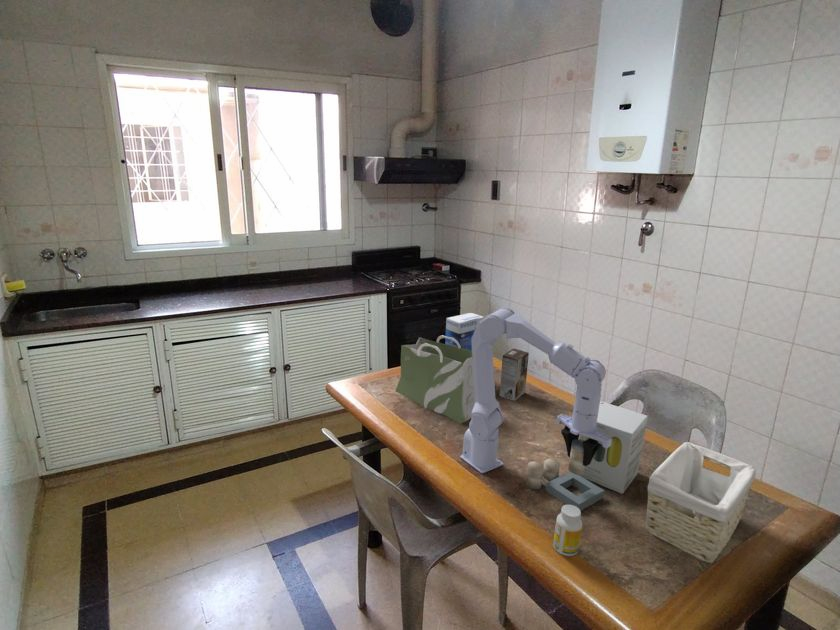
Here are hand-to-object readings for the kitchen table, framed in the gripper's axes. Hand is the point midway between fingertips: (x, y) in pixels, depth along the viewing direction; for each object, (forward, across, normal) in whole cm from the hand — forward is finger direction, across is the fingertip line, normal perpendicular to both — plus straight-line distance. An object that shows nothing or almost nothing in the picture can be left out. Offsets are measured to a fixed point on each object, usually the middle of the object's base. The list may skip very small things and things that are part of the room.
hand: (578, 460), depth 123 cm
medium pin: (+10, -8, -6) cm, 14 cm away
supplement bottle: (+10, +11, -17) cm, 23 cm away
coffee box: (+10, -50, +29) cm, 59 cm away
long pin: (+3, 0, 0) cm, 3 cm away
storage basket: (+10, +23, +14) cm, 29 cm away
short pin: (+10, -8, +1) cm, 13 cm away
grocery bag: (+10, -60, +2) cm, 61 cm away
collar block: (+10, 0, 0) cm, 10 cm away
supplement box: (+10, -1, +15) cm, 18 cm away
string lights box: (+10, -69, +21) cm, 73 cm away
